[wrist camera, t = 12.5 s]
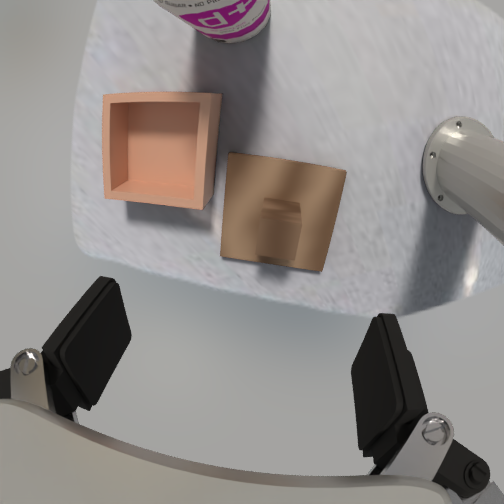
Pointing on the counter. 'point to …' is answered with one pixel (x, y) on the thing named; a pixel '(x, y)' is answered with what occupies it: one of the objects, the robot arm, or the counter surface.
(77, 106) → the counter surface
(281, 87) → the counter surface
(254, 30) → the supplement can
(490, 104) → the counter surface
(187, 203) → the dish
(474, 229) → the counter surface
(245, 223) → the lid
